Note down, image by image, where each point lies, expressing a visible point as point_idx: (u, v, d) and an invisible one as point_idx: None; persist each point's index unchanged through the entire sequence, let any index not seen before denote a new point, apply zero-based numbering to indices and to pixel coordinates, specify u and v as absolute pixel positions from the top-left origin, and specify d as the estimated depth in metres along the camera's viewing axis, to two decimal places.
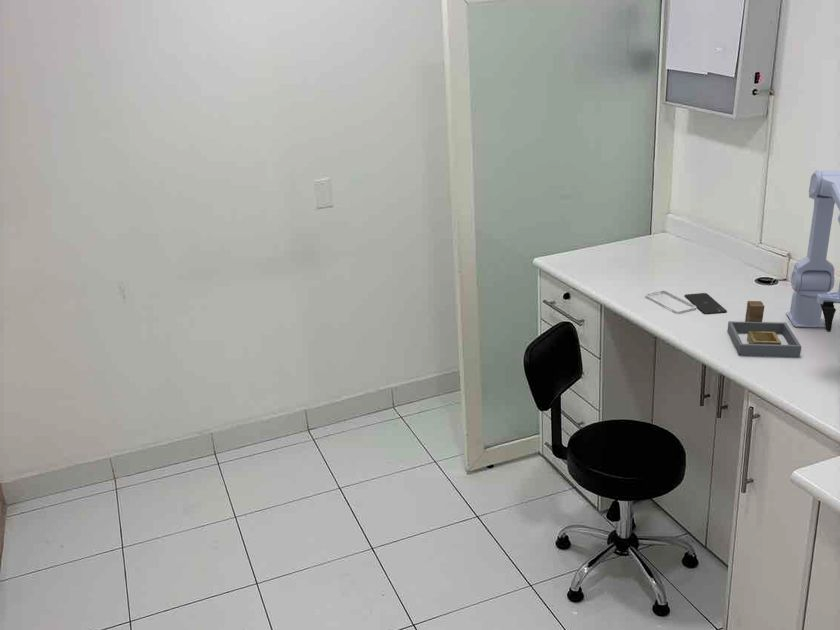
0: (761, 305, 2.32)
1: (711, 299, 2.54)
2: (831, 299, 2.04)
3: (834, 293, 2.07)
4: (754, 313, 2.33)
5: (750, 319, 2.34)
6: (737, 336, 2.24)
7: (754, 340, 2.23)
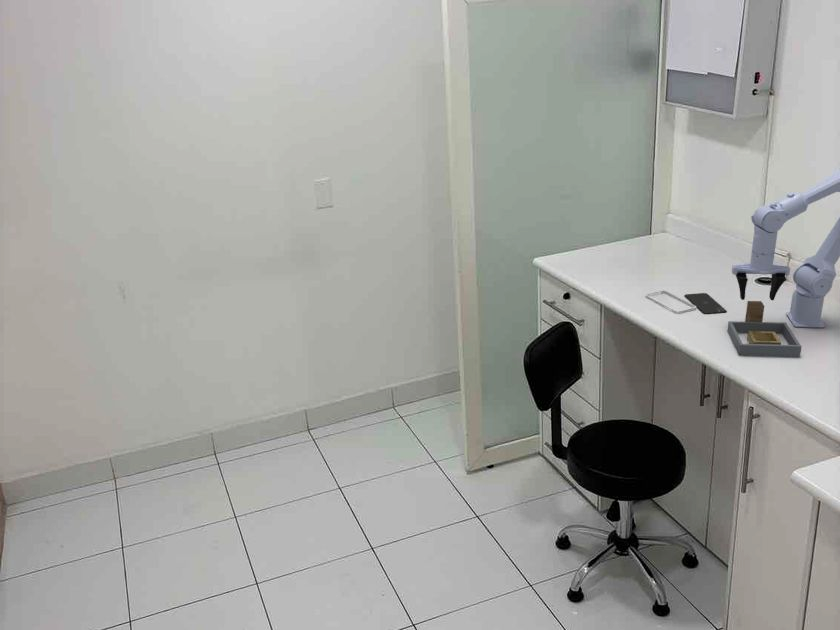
0: (761, 305, 2.32)
1: (711, 299, 2.54)
2: (743, 270, 2.29)
3: (747, 265, 2.31)
4: (754, 313, 2.33)
5: (750, 319, 2.34)
6: (737, 336, 2.24)
7: (754, 340, 2.23)
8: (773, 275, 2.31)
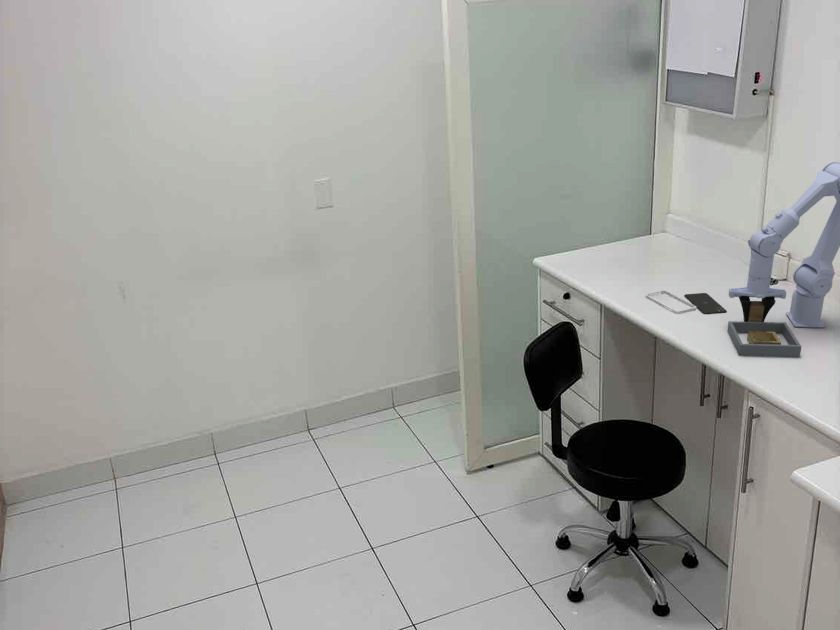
0: (761, 305, 2.32)
1: (711, 299, 2.54)
2: (740, 293, 2.31)
3: (744, 288, 2.34)
4: (754, 313, 2.33)
5: (750, 319, 2.34)
6: (737, 336, 2.24)
7: (754, 340, 2.23)
8: (763, 298, 2.34)
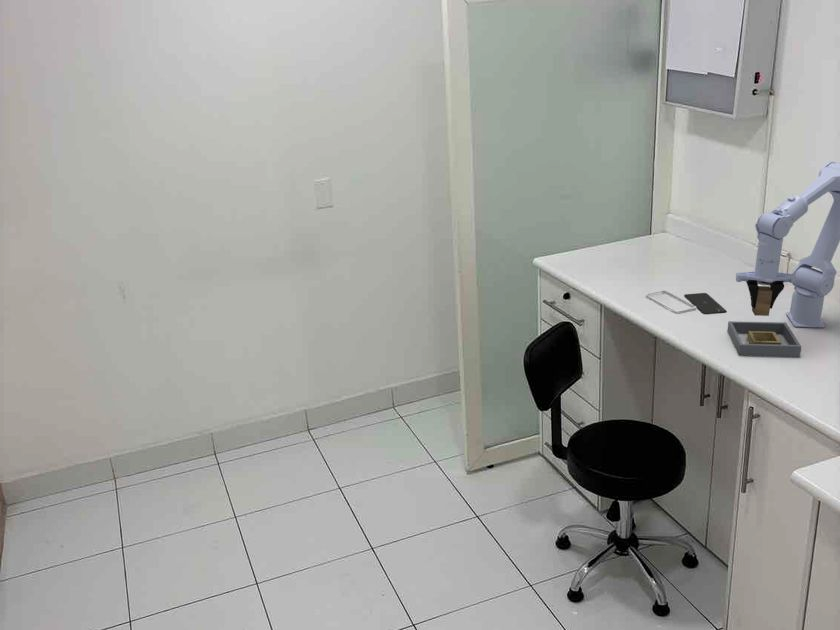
0: (769, 290, 2.25)
1: (711, 299, 2.54)
2: (748, 277, 2.23)
3: (752, 272, 2.26)
4: (762, 298, 2.25)
5: (757, 305, 2.26)
6: (737, 336, 2.24)
7: (754, 340, 2.23)
8: (771, 283, 2.25)
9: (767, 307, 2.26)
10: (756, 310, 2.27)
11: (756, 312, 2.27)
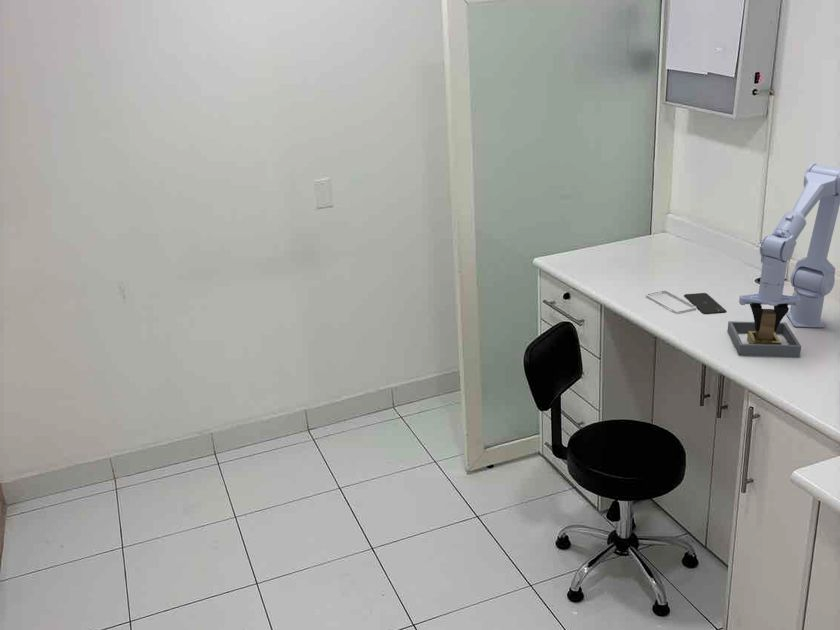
0: (773, 313, 2.21)
1: (711, 299, 2.54)
2: (751, 300, 2.19)
3: (755, 295, 2.22)
4: (766, 321, 2.21)
5: (761, 328, 2.22)
6: (737, 336, 2.24)
7: (754, 340, 2.23)
8: (775, 305, 2.22)
9: (771, 330, 2.22)
10: (760, 333, 2.23)
11: (760, 335, 2.23)
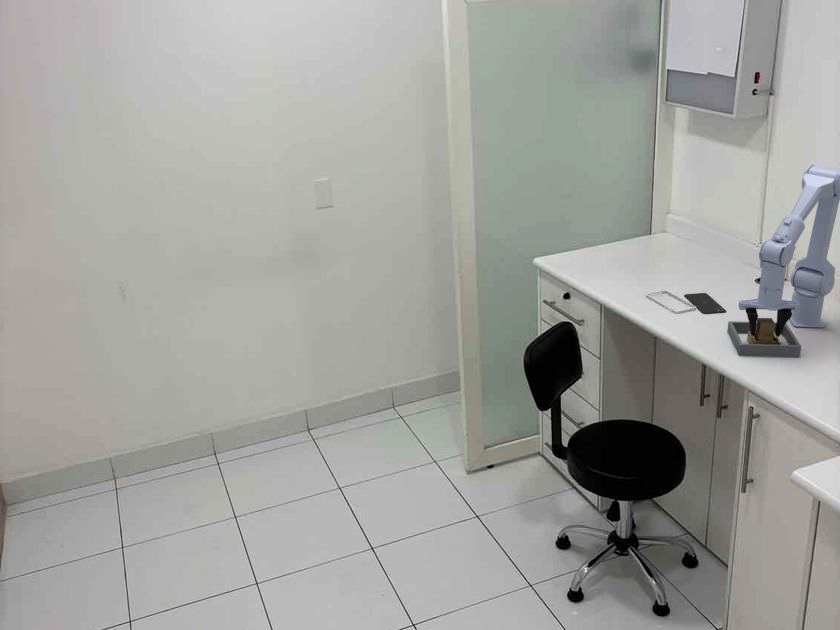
0: (772, 322, 2.22)
1: (711, 299, 2.54)
2: (751, 305, 2.20)
3: (755, 300, 2.23)
4: (765, 331, 2.22)
5: (760, 337, 2.23)
6: (737, 336, 2.24)
7: (754, 340, 2.23)
8: (779, 310, 2.22)
9: (770, 339, 2.23)
10: None
11: None
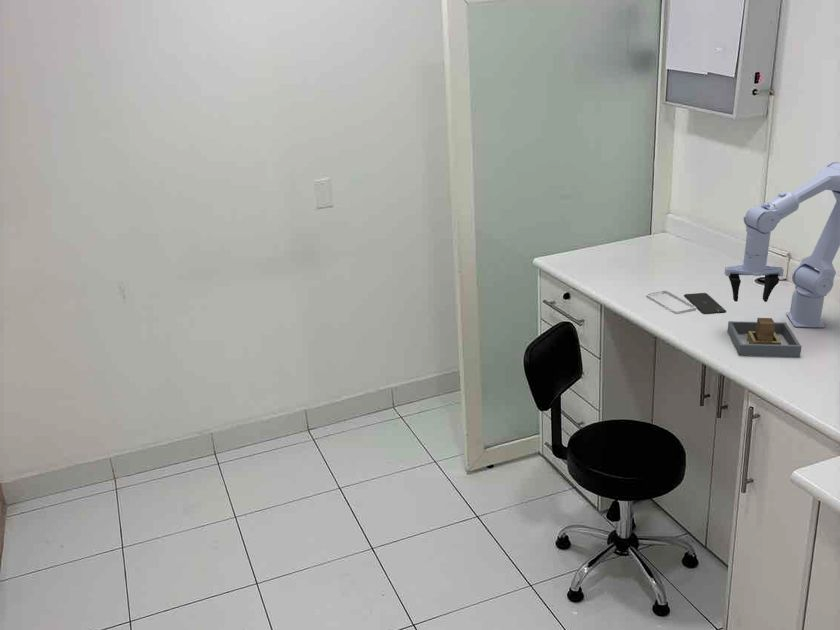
0: (772, 322, 2.22)
1: (711, 299, 2.54)
2: (736, 271, 2.26)
3: (740, 266, 2.28)
4: (765, 331, 2.22)
5: (760, 337, 2.23)
6: (737, 336, 2.24)
7: (754, 340, 2.23)
8: (766, 276, 2.28)
9: (770, 339, 2.23)
10: None
11: None
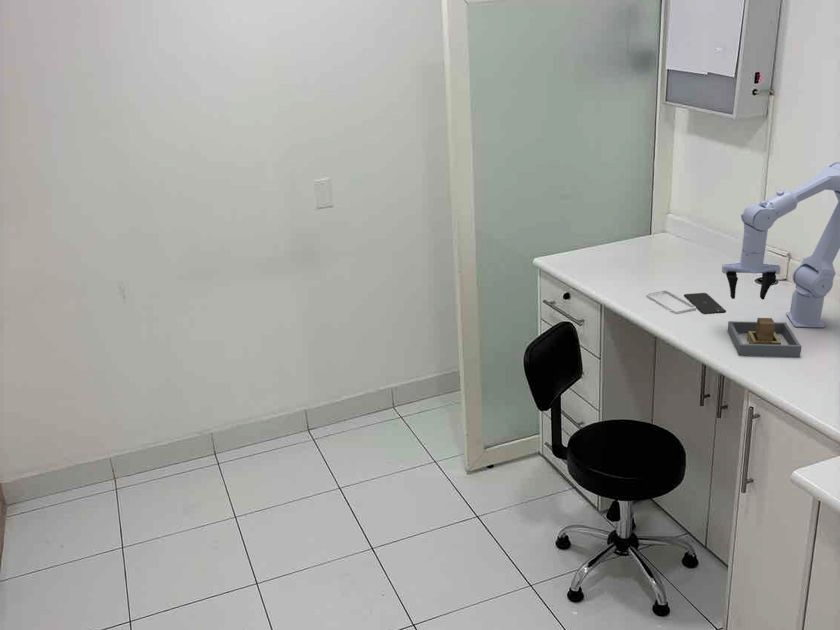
0: (772, 322, 2.22)
1: (710, 299, 2.54)
2: (733, 269, 2.27)
3: (737, 264, 2.30)
4: (765, 331, 2.22)
5: (760, 337, 2.23)
6: (737, 336, 2.24)
7: (754, 340, 2.23)
8: (763, 274, 2.29)
9: (770, 339, 2.23)
10: None
11: None
